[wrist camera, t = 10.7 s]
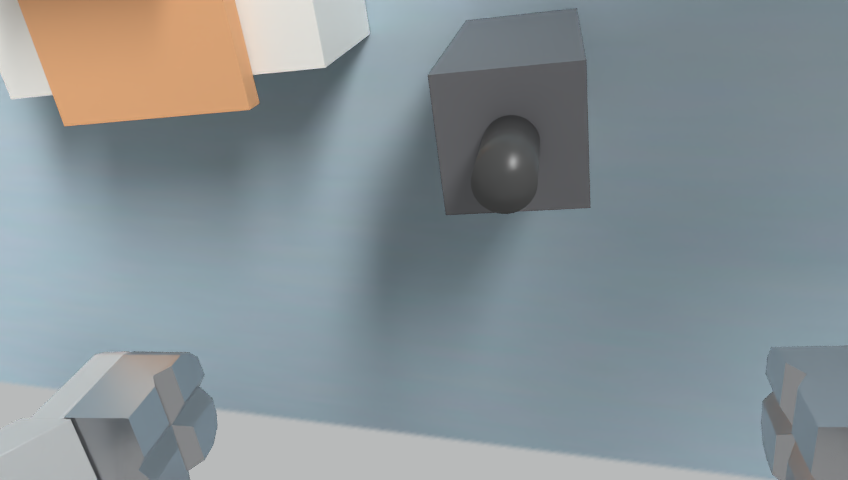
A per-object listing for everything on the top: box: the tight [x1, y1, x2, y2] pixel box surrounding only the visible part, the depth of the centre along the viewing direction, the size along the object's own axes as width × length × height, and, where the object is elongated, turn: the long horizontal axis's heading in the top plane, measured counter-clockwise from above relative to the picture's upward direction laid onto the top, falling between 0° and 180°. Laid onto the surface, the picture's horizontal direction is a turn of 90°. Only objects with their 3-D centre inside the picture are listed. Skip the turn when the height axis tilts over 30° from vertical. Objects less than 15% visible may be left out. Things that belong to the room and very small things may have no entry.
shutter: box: [17, 0, 259, 126], centre depth 20 cm, size 7×7×3 cm
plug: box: [428, 8, 590, 215], centre depth 22 cm, size 4×4×12 cm
